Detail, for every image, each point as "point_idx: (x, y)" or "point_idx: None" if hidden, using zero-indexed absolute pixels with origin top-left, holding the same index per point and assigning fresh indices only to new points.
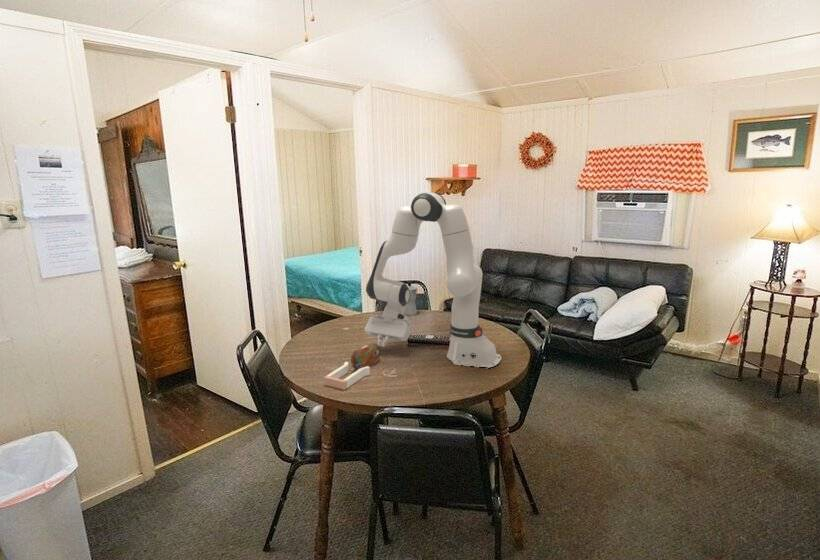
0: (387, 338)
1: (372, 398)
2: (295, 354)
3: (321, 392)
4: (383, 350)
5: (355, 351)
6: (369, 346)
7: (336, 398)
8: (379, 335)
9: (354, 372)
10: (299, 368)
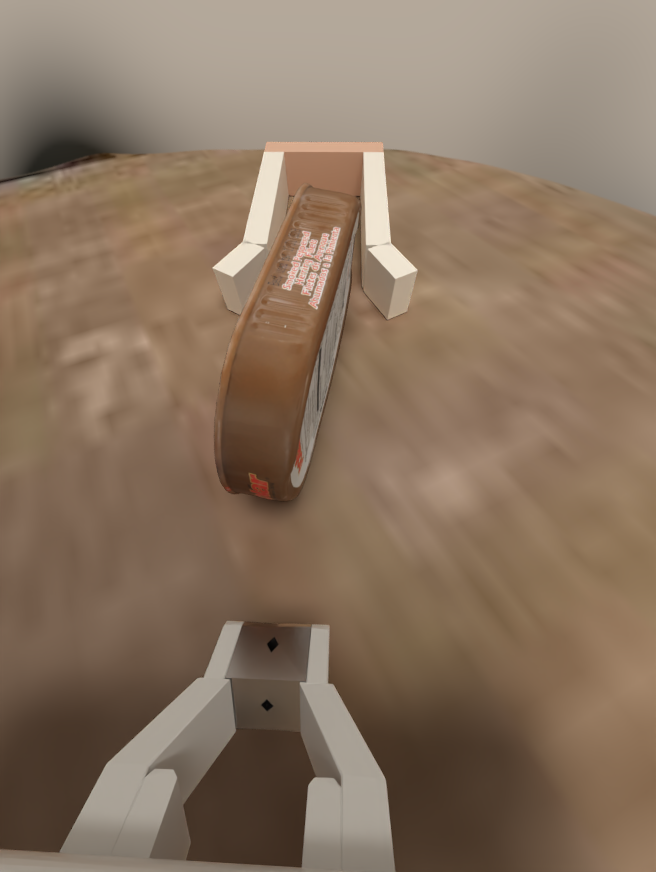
0: (116, 758)
1: (136, 181)
2: None
3: None
4: None
5: (342, 193)
6: (268, 293)
7: None
8: (351, 832)
9: (271, 204)
10: (622, 241)
